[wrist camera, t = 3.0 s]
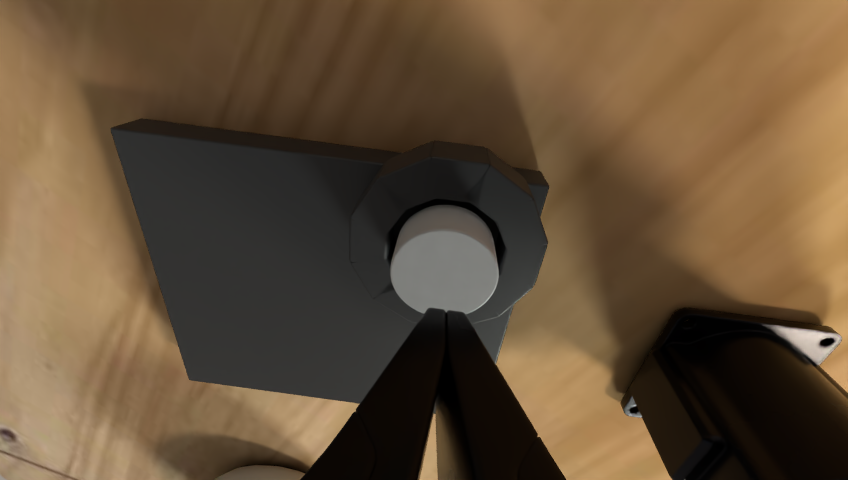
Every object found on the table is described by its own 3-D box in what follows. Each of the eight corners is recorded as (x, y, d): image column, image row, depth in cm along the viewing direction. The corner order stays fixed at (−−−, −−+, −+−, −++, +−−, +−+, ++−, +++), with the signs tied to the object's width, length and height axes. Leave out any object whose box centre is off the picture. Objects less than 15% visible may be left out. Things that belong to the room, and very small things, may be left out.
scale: (549, 143, 12) (573, 175, 10) (477, 395, 19) (481, 454, 16) (132, 88, 12) (48, 106, 10) (205, 358, 19) (166, 410, 16)
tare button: (503, 210, 11) (510, 237, 10) (483, 292, 12) (487, 324, 11) (401, 197, 11) (393, 221, 10) (393, 279, 12) (386, 310, 11)
